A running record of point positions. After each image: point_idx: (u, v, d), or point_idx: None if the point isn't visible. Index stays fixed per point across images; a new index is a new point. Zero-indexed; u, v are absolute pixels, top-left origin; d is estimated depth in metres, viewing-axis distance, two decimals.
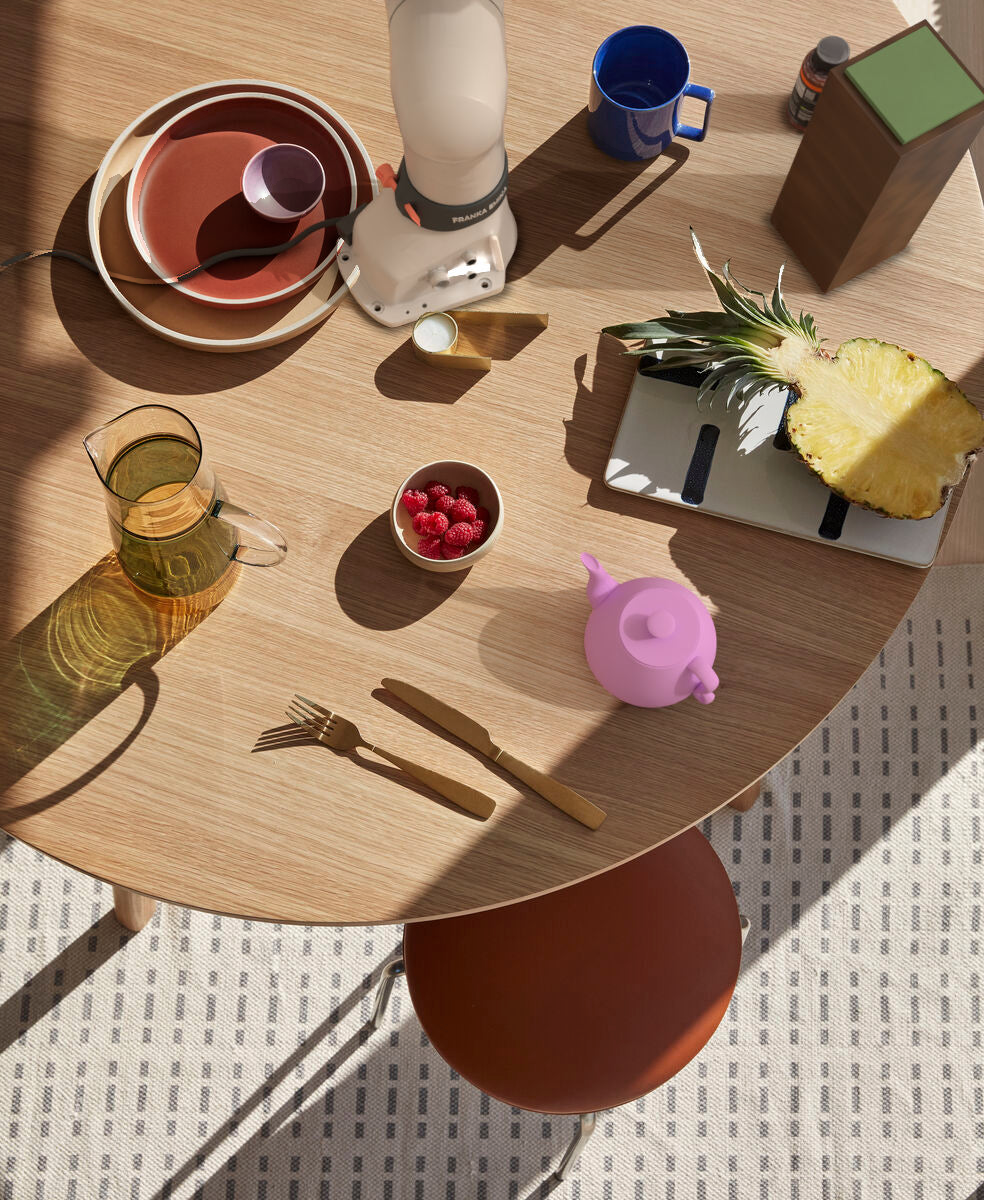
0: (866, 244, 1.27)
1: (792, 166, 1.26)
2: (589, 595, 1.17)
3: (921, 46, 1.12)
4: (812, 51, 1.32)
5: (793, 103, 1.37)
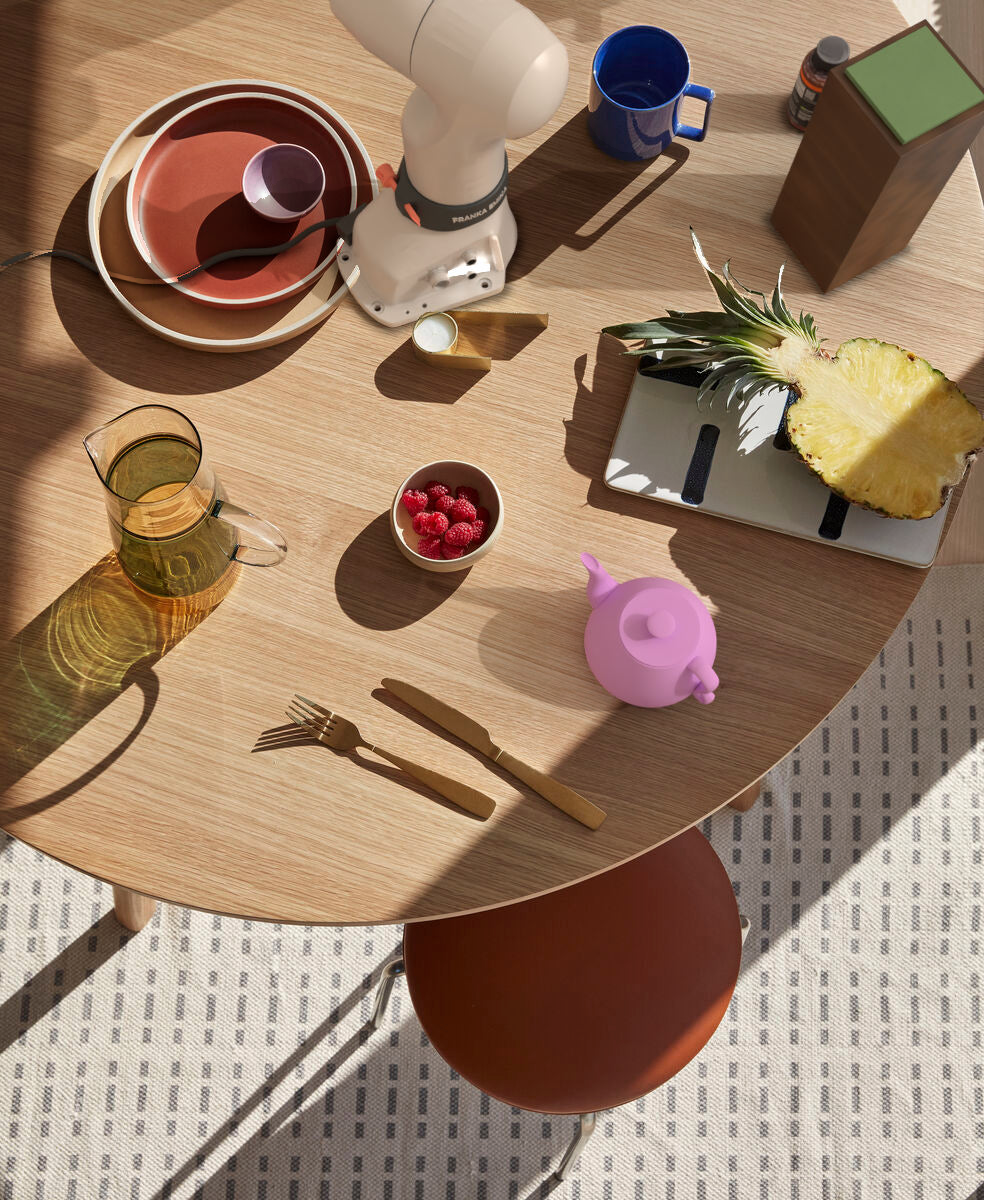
0: (866, 244, 1.27)
1: (792, 166, 1.26)
2: (589, 595, 1.17)
3: (921, 46, 1.12)
4: (812, 51, 1.32)
5: (793, 103, 1.37)
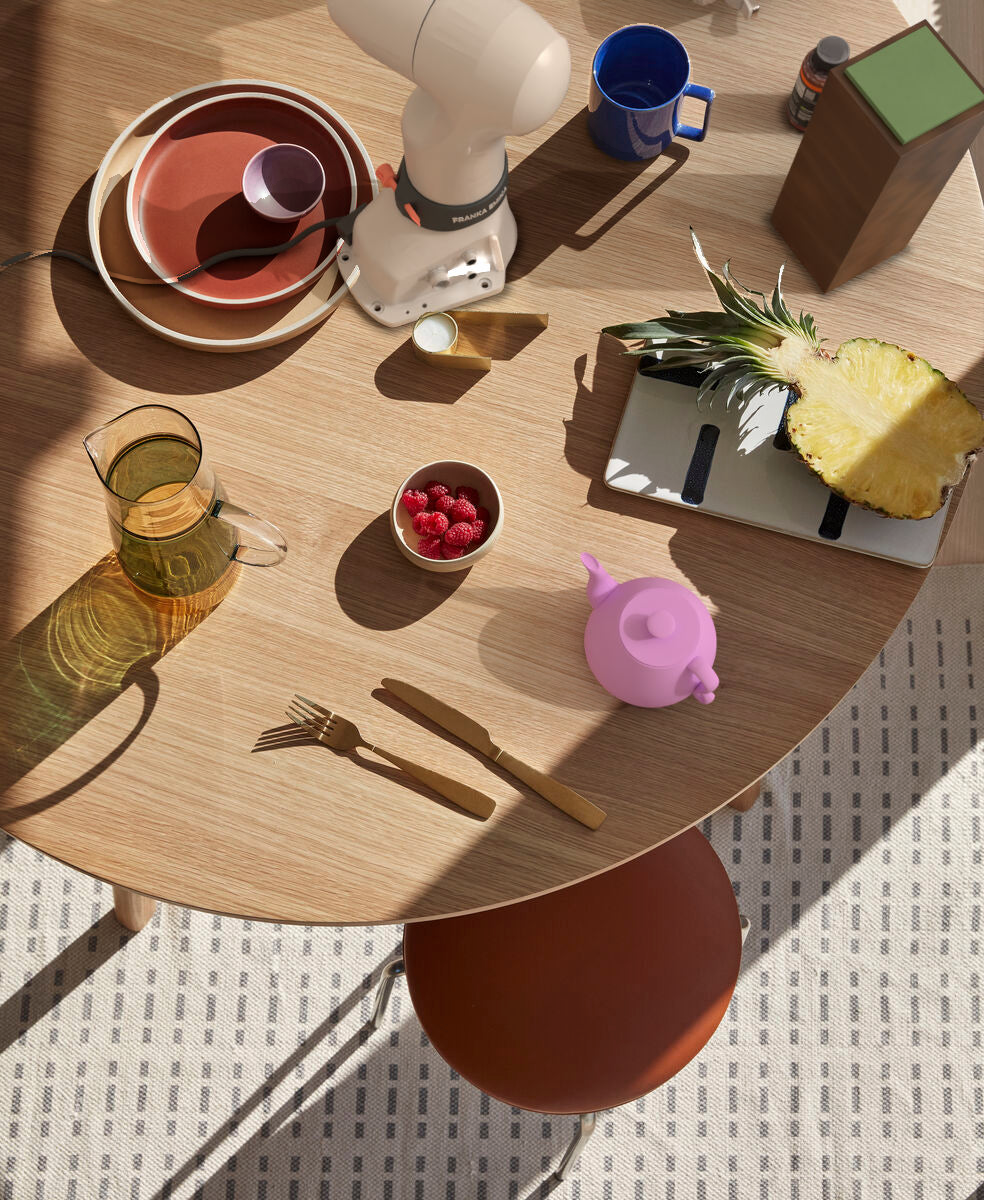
0: (866, 244, 1.27)
1: (792, 166, 1.26)
2: (589, 595, 1.17)
3: (921, 46, 1.12)
4: (812, 51, 1.32)
5: (793, 103, 1.37)
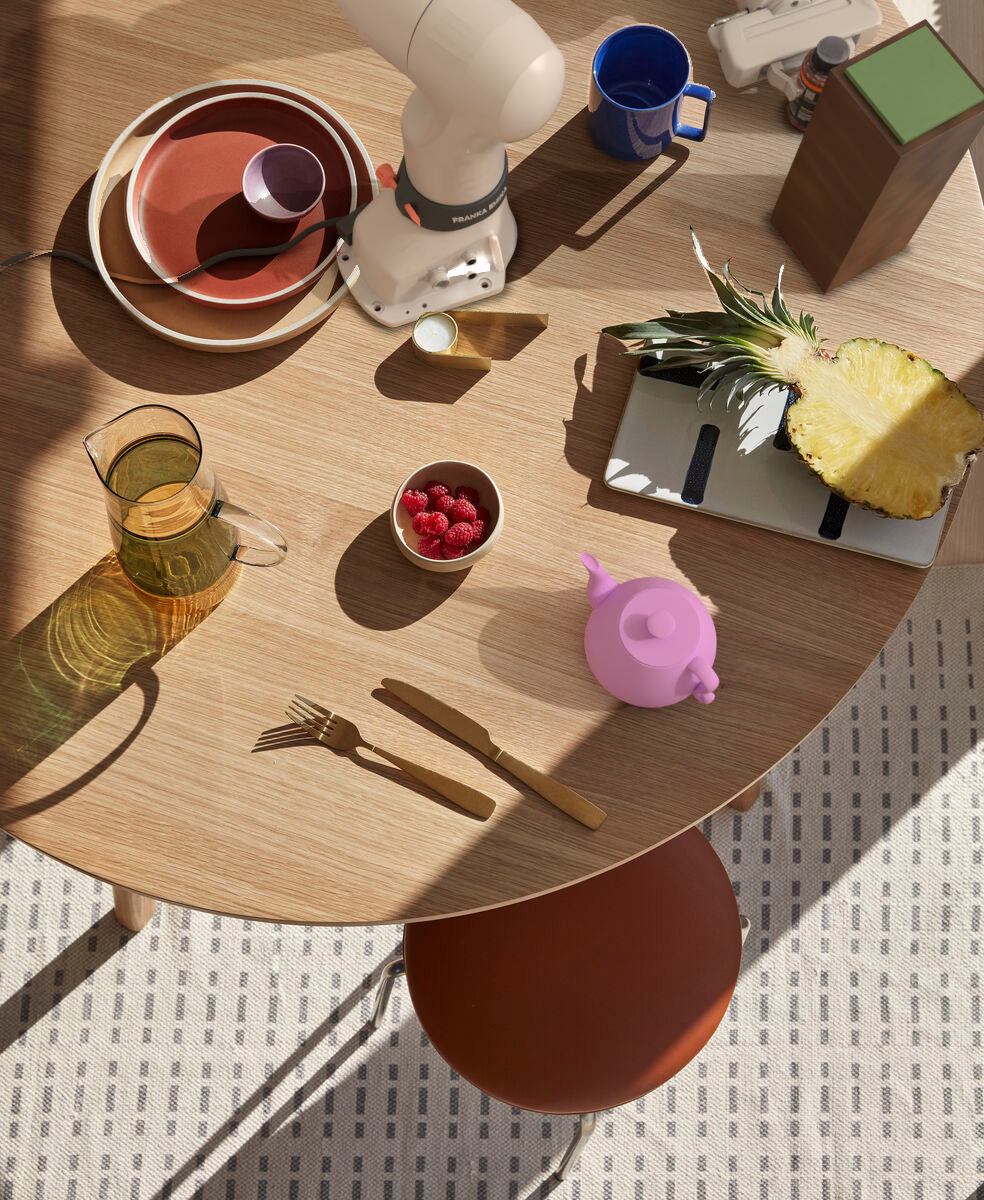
0: (866, 244, 1.27)
1: (792, 166, 1.26)
2: (589, 595, 1.17)
3: (921, 46, 1.12)
4: (812, 51, 1.32)
5: (793, 103, 1.37)
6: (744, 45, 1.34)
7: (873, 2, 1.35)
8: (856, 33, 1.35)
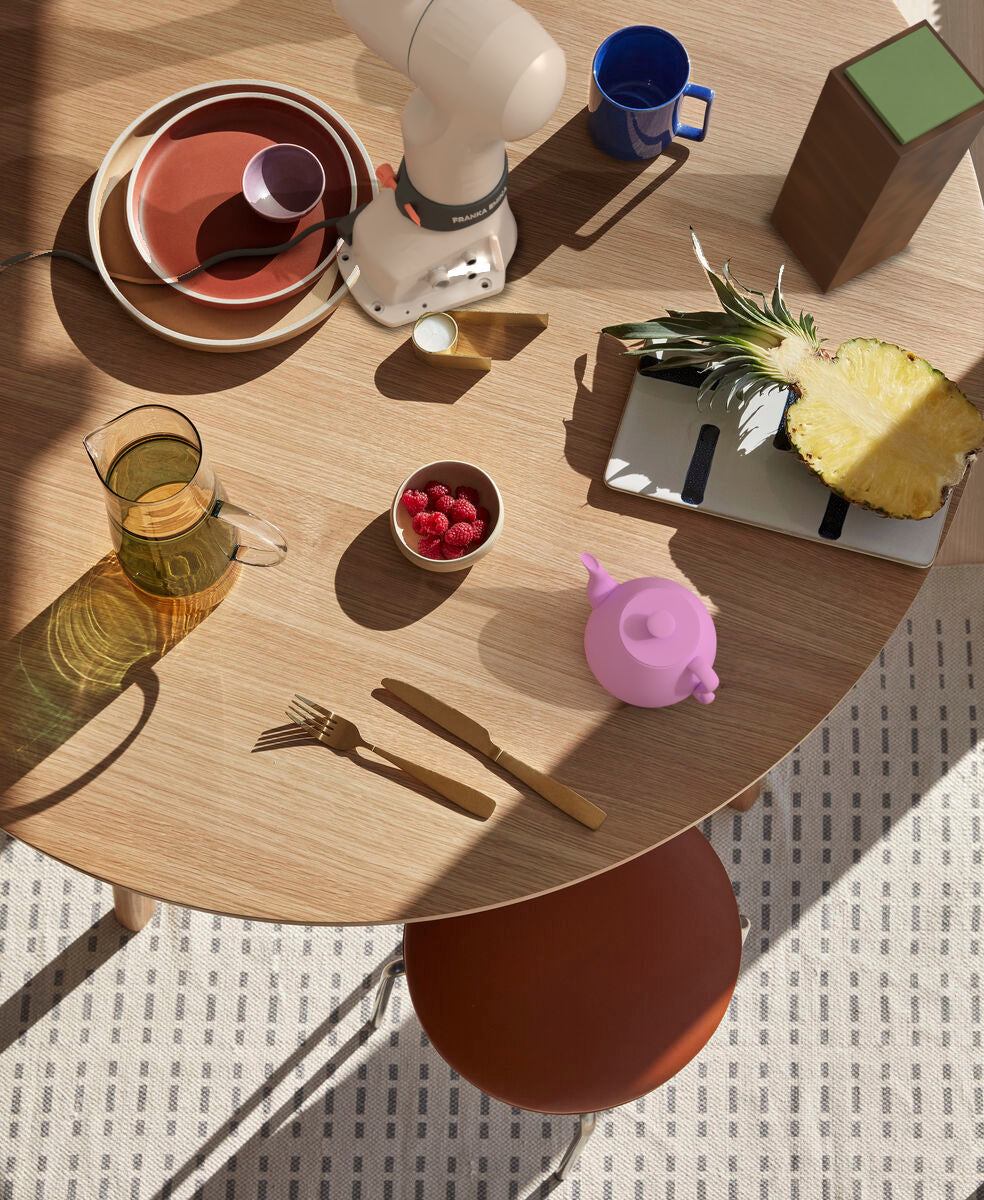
0: (866, 244, 1.27)
1: (792, 166, 1.26)
2: (589, 595, 1.17)
3: (921, 46, 1.12)
4: None
5: None
6: None
7: None
8: None
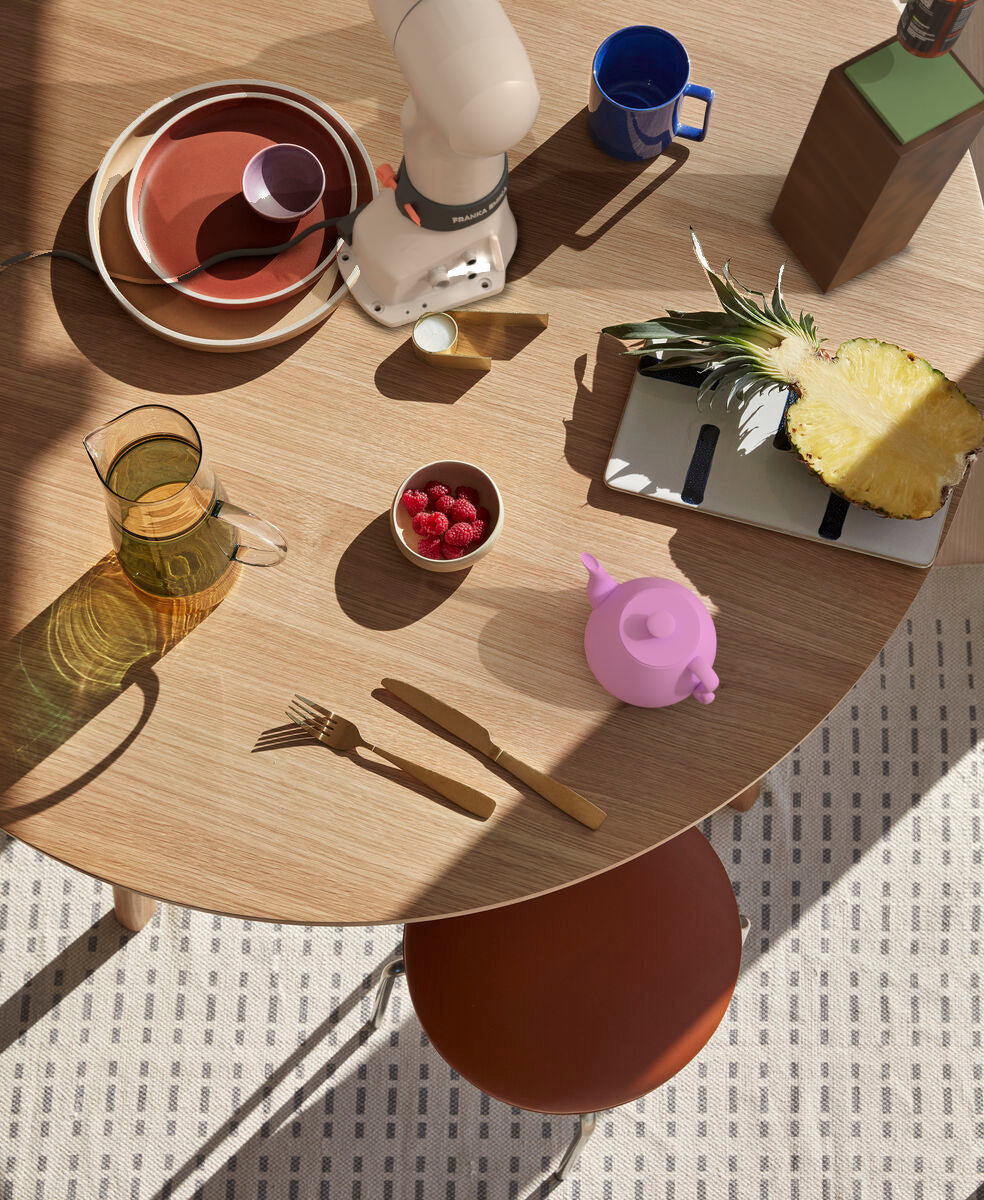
0: (866, 244, 1.27)
1: (792, 166, 1.26)
2: (589, 595, 1.17)
3: None
4: None
5: (905, 11, 1.05)
6: None
7: None
8: None
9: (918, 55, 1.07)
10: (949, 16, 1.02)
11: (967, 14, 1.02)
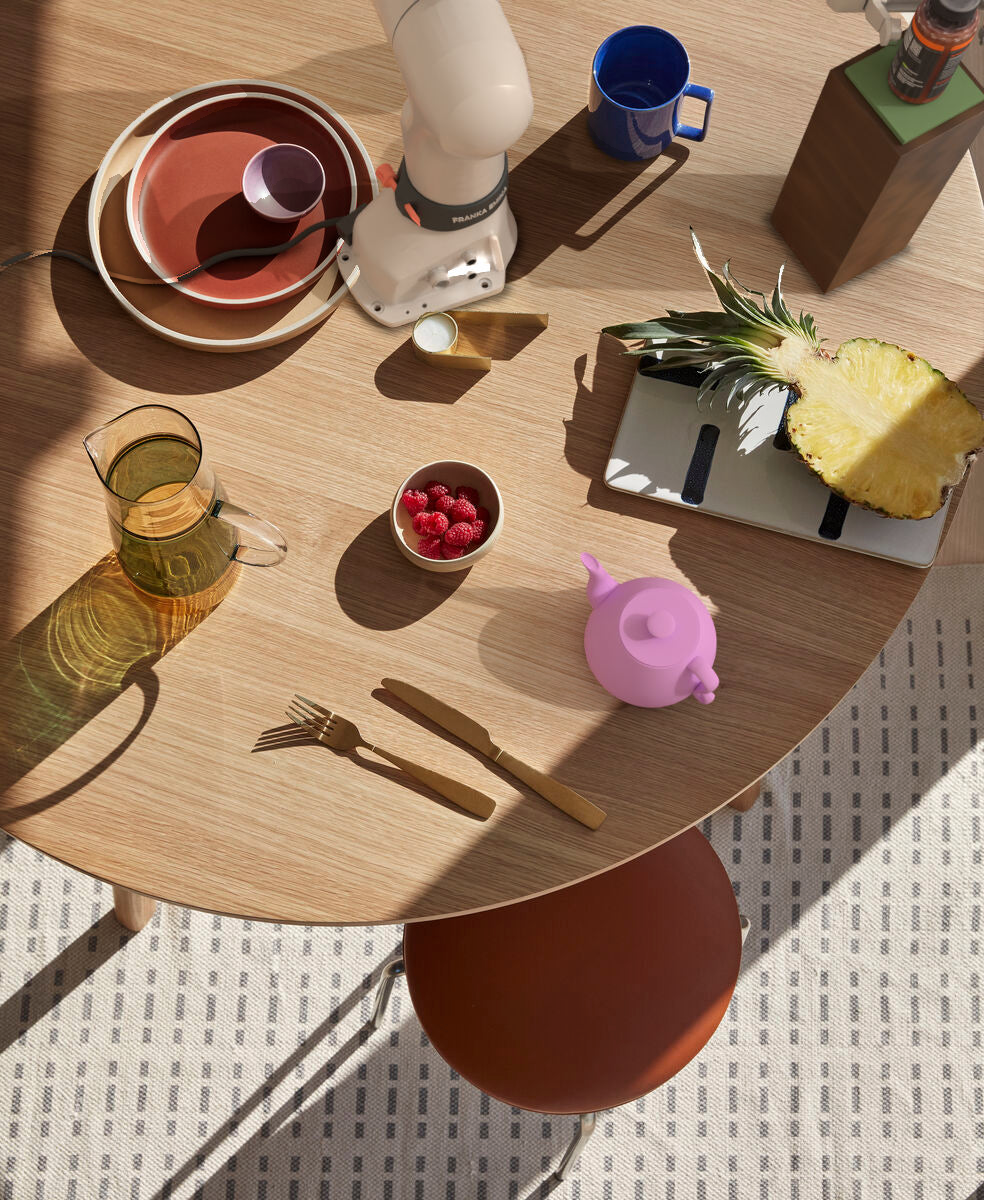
0: (866, 244, 1.27)
1: (792, 166, 1.26)
2: (589, 595, 1.17)
3: None
4: None
5: (896, 57, 1.08)
6: None
7: None
8: None
9: (907, 100, 1.09)
10: (937, 65, 1.04)
11: (955, 63, 1.05)
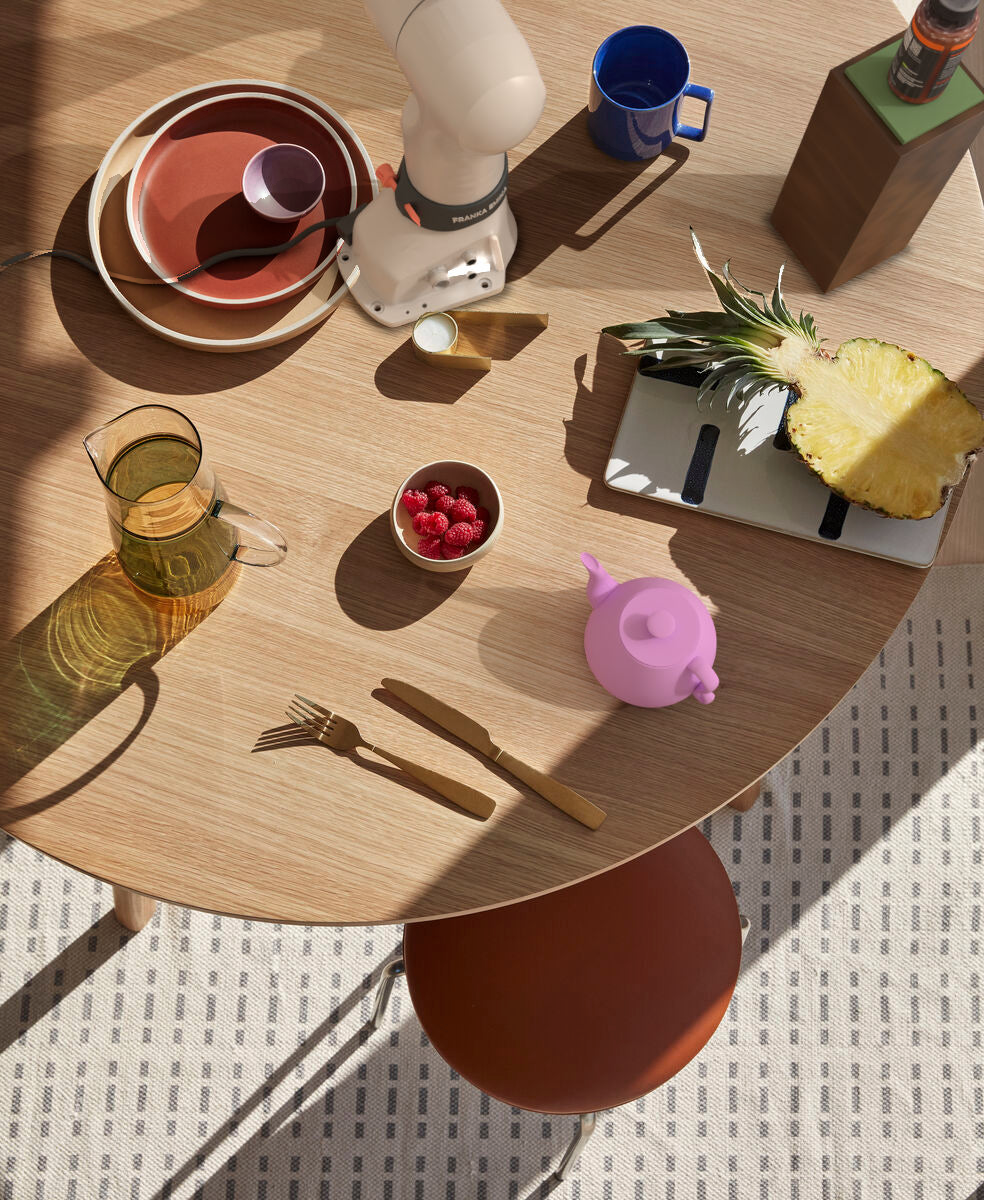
0: (866, 244, 1.27)
1: (792, 166, 1.26)
2: (589, 595, 1.17)
3: None
4: None
5: (896, 57, 1.08)
6: None
7: None
8: None
9: (907, 100, 1.09)
10: (936, 65, 1.04)
11: (955, 63, 1.05)
